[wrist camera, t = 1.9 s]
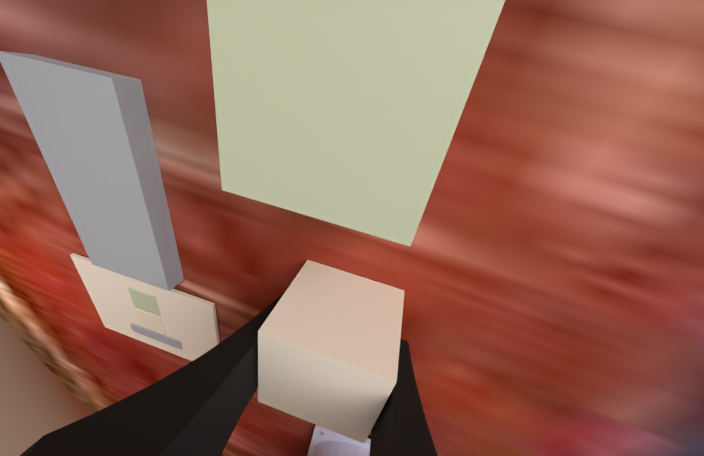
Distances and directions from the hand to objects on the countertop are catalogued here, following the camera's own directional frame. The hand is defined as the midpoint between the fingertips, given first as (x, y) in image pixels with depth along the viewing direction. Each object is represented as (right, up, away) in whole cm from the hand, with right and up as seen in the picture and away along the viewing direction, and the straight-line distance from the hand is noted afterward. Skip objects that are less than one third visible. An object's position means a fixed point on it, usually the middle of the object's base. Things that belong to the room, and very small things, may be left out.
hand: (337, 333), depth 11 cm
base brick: (-10, +7, +2) cm, 13 cm away
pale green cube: (+1, +9, -3) cm, 9 cm away
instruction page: (-13, -1, +6) cm, 14 cm away
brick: (0, +1, +1) cm, 1 cm away
